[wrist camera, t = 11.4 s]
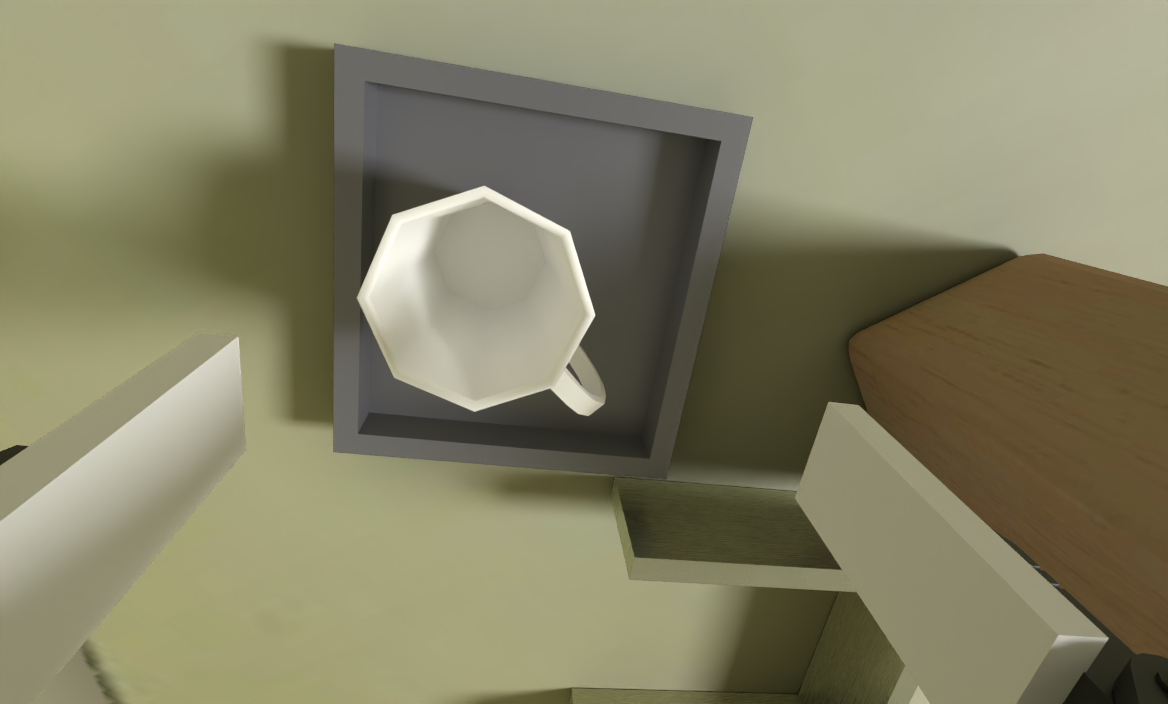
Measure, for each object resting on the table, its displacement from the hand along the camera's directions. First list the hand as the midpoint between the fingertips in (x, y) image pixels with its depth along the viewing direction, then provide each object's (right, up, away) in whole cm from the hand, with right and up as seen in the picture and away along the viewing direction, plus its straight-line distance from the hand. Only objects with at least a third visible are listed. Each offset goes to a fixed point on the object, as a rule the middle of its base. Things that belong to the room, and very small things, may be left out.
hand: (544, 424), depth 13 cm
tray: (-2, +5, +13) cm, 14 cm away
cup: (-2, +5, +12) cm, 13 cm away
